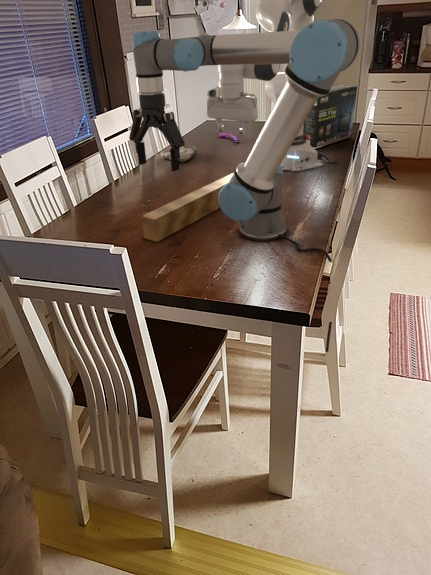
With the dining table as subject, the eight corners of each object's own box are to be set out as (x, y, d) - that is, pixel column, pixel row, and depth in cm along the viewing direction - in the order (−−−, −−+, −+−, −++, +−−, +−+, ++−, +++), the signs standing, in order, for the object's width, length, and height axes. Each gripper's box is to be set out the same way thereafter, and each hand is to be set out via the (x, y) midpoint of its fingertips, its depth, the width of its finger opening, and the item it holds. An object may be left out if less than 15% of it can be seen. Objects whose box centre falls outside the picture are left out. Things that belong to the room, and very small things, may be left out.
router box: (314, 151, 231) (318, 94, 217) (296, 148, 237) (299, 92, 224) (352, 138, 251) (358, 85, 238) (335, 135, 258) (340, 83, 245)
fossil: (184, 156, 217) (163, 136, 220) (174, 174, 223) (154, 154, 227) (205, 153, 231) (186, 134, 234) (195, 171, 237) (176, 152, 240)
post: (157, 242, 146) (154, 219, 142) (144, 238, 149) (141, 215, 145) (249, 191, 184) (250, 172, 180) (238, 189, 187) (238, 170, 183)
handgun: (218, 136, 266) (218, 133, 265) (231, 135, 267) (231, 132, 266) (226, 144, 248) (226, 141, 247) (240, 143, 249) (240, 139, 248)
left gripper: (193, 93, 126) (198, 169, 137) (129, 88, 139) (138, 158, 150) (176, 97, 121) (182, 176, 132) (111, 92, 134) (121, 164, 145)
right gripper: (261, 92, 157) (260, 133, 164) (213, 88, 167) (214, 128, 175) (251, 94, 152) (251, 137, 160) (203, 91, 163) (204, 131, 170)
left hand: (158, 167), depth 141 cm, fingers open, 13 cm apart
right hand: (231, 132), depth 167 cm, fingers open, 8 cm apart
